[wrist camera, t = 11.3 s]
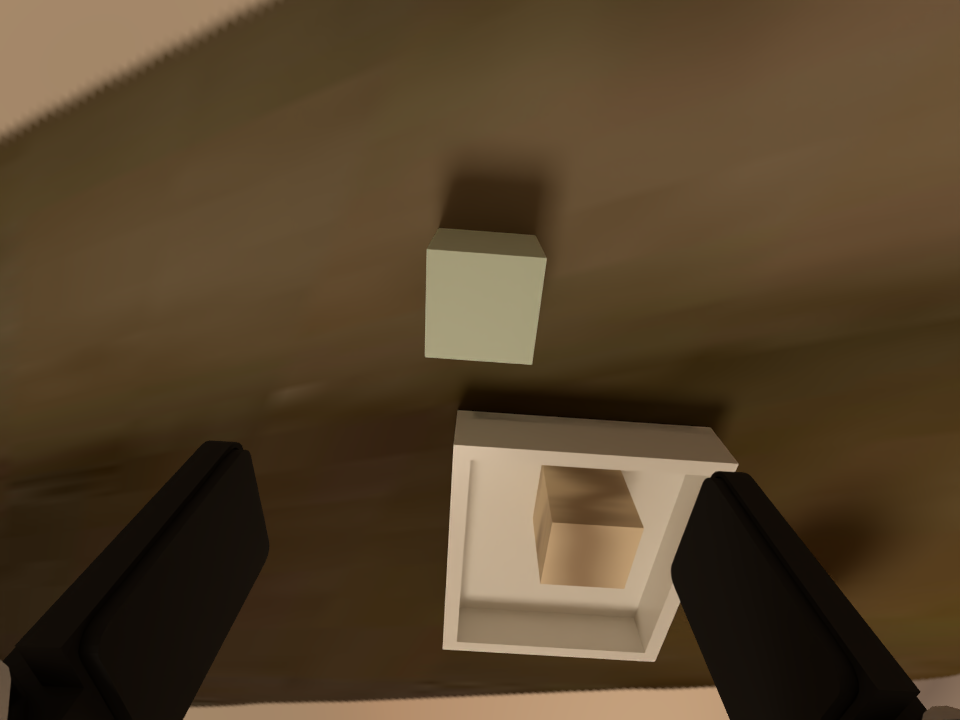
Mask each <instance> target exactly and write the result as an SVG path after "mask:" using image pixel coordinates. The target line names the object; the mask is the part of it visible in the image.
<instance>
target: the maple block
mask: <svg viewBox="0 0 960 720" xmlns="http://www.w3.org/2000/svg"><path fill="white" fill-rule="evenodd" d="M533 526H534V535H535V543H536V552H537V560H538V569H539V577H540V584H551V585H567V586H583V587H600V588H616V589H624V588H625V585H626V582H627V579H628V576H629V573H630V570H631V567H632V564H633V561H634V558H635V555H636V551H637V548H638V545H639V542H640V539H641V536H642V533H643V530H644V527H643V524H642V522H641V519H640V517H639V514H638V512H637V509H636V507H635V504H634V502H633V499H632V497H631V494H630V492H629V489H628V487H627V484H626V482H625V479H624V477H623V474H622V472H621V470H610V469H595V468H580V467H565V466H550V465H542V466H541V472H540V478H539V484H538V490H537V496H536V502H535V508H534V514H533Z"/></svg>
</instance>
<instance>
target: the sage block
mask: <svg viewBox="0 0 960 720" xmlns="http://www.w3.org/2000/svg"><path fill="white" fill-rule="evenodd" d="M546 260H547V258H546V256H545V253H544V251H543V249H542V247H541V245H540V243H539V241H538V239H537V237H536V235H527V234H514V233H501V232H488V231H474V230H461V229H448V228H438V230H437V232H436V233H435V235H434V237H433V239H432V241H431V242H430V244H429V246H428V248H427V262H426V321H425V357H431V358H445V359H459V360H473V361H487V362H501V363H515V364H529V365H532V360H533V353H534V346H535V339H536V332H537V325H538V318H539V310H540V303H541V296H542V289H543V282H544V275H545V268H546Z"/></svg>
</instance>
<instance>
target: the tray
mask: <svg viewBox="0 0 960 720" xmlns="http://www.w3.org/2000/svg"><path fill="white" fill-rule="evenodd" d="M542 465H550V466H565V467H580V468H595V469H610V470H621V472H622V474H623V477H624V479H625V482H626V484H627V487H628V489H629V492H630V494H631V497H632V499H633V502H634V504H635V507H636V509H637V512H638V514H639V517H640V519H641V522H642V524H643V527H644V530H643V533H642V536H641V539H640V542H639V545H638V548H637V551H636V555H635V558H634V561H633V564H632V567H631V570H630V573H629V576H628V579H627V582H626V585H625V588H624V589H616V588H600V587H583V586H567V585H551V584H540V577H539V569H538V560H537V552H536V543H535V535H534V526H533V514H534V508H535V502H536V496H537V490H538V484H539V478H540V472H541V466H542ZM737 467H738V462H737V461H736V460H735V458H734V457H733V456H732V455H731V453H730V452H729V451H728V449H727V448H726V447H725V446H724V444H723V443H722V442H721V440H720V439H719V438H718V436H717V435H716V434H715V433H714V431H713V430H712V429H711V427H698V426H683V425H668V424H654V423H639V422H624V421H610V420H595V419H580V418H566V417H551V416H536V415H522V414H507V413H492V412H478V411H463V410H458V411H457V420H456V429H455V438H454V449H453V467H452V486H451V504H450V523H449V542H448V560H447V579H446V598H445V616H444V635H443V649H447V650H464V651H481V652H498V653H515V654H531V655H548V656H565V657H582V658H599V659H616V660H633V661H650V662H655V660H656V658H657V655H658V653H659V650H660V648H661V646H662V643H663V641H664V639H665V636H666V634H667V632H668V629H669V627H670V625H671V622H672V620H673V617H674V615H675V613H676V610H677V608H678V606H679V603H680V600H679V597H678V595H677V592H676V590H675V588H674V585H673V582H672V578H671V565H672V562H673V560H674V557H675V554H676V552H677V549H678V546H679V544H680V541H681V538H682V536H683V533H684V531H685V528H686V525H687V523H688V520H689V517H690V515H691V512H692V510H693V507H694V504H695V502H696V499H697V496H698V494H699V491H700V488H701V486H702V483H703V481H704V480H705V479H706V478H710V477H711V476H712V474H713V473H714V472H716V471H726V472H735V471H736V469H737Z"/></svg>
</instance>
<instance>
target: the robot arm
mask: <svg viewBox="0 0 960 720" xmlns="http://www.w3.org/2000/svg"><path fill="white" fill-rule="evenodd" d="M268 552H269V539H268V535H267V530H266V525H265V521H264V516H263V511H262V506H261V502H260V497H259V492H258V487H257V483H256V478H255V473H254V469H253V464H252V459H251V455H250V452H249V451H247V450H243V448H242V445H241V444H240V443H237V442H225V441H207V442H205V443H204V444H202V445H201V446H200V447H199V448H198V449H197V451H196V452H195V453H194V454H193V455H192V456H191V457H190V458H189V459H188V460H187V461H186V462H185V463H184V465H183V466H182V467H181V468H180V469H179V470H178V471H177V472H176V473H175V474H174V475H173V476H172V477H171V478H170V480H169V481H168V482H167V483H166V484H165V485H164V486H163V487H162V488H161V489H160V490H159V491H158V492H157V494H156V495H155V496H154V497H153V498H152V499H151V500H150V501H149V502H148V503H147V504H146V505H145V506H144V507H143V509H142V510H141V511H140V512H139V513H138V514H137V515H136V516H135V517H134V518H133V519H132V520H131V521H130V523H129V524H128V525H127V526H126V527H125V528H124V529H123V530H122V531H121V532H120V533H119V534H118V535H117V537H116V538H115V539H114V540H113V541H112V542H111V543H110V544H109V545H108V546H107V547H106V548H105V549H104V550H103V552H102V553H101V554H100V555H99V556H98V557H97V558H96V559H95V560H94V561H93V562H92V563H91V564H90V566H89V567H88V568H87V569H86V570H85V571H84V572H83V573H82V574H81V575H80V576H79V577H78V578H77V580H76V581H75V582H74V583H73V584H72V585H71V586H70V587H69V588H68V589H67V590H66V591H65V592H64V593H63V595H62V596H61V597H60V598H59V599H58V600H57V601H56V602H55V603H54V604H53V605H52V606H51V607H50V609H49V610H48V611H47V612H46V613H45V614H44V615H43V616H42V617H41V618H40V619H39V620H38V621H37V623H36V624H35V625H34V626H33V627H32V628H31V629H30V630H29V631H28V632H27V633H26V634H25V635H24V636H23V638H22V639H21V640H20V641H19V642H18V643H17V644H16V645H15V646H16V647H15V649H14V650H13V651H12V652H11V653H10V654H9V655H8V656H7V657H6V658H5V659H4V660H3V661H1V660H0V720H183V718H184V716H185V714H186V712H187V711H188V709H189V707H190V705H191V703H192V701H193V699H194V697H195V695H196V693H197V692H198V690H199V688H200V686H201V684H202V682H203V680H204V678H205V676H206V674H207V672H208V670H209V669H210V667H211V665H212V663H213V661H214V659H215V657H216V655H217V653H218V651H219V649H220V648H221V646H222V644H223V642H224V640H225V638H226V636H227V634H228V632H229V630H230V628H231V626H232V625H233V623H234V621H235V619H236V617H237V615H238V613H239V611H240V609H241V607H242V605H243V604H244V602H245V600H246V598H247V596H248V594H249V592H250V590H251V588H252V586H253V584H254V582H255V581H256V579H257V577H258V575H259V573H260V571H261V569H262V567H263V565H264V563H265V561H266V559H267V556H268ZM671 578H672V582H673V585H674V588H675V590H676V592H677V595H678V597H679V600H680V602H681V604H682V607H683V609H684V612H685V614H686V616H687V619H688V621H689V623H690V626H691V628H692V631H693V633H694V635H695V638H696V640H697V642H698V645H699V647H700V650H701V652H702V654H703V657H704V659H705V662H706V664H707V666H708V669H709V671H710V673H711V676H712V678H713V681H714V683H715V685H716V688H717V690H718V692H719V695H720V697H721V699H722V702H723V704H724V707H725V709H726V711H727V714H728V716H729V719H730V720H960V709H957V708H953V707H949V706H935V707H931V708H930V709H928V710H926V708H925V707H924V706H923V704H922V703H921V702H920V700H919V699H918V698H917V697H916V696H917V695H918V694H919V693H920V691H919V689H918V688H917V687H916V686H915V684H914V683H913V682H912V680H911V679H910V678H909V677H908V675H907V674H906V673H905V672H904V670H903V669H902V668H901V666H900V665H899V664H898V663H897V661H896V660H895V659H894V658H893V656H892V655H891V654H890V652H889V651H888V650H887V649H886V647H885V646H884V645H883V644H882V642H881V641H880V640H879V638H878V637H877V636H876V635H875V633H874V632H873V631H872V630H871V628H870V627H869V626H868V624H867V623H866V622H865V621H864V619H863V618H862V617H861V616H860V614H859V613H858V612H857V610H856V609H855V608H854V607H853V605H852V604H851V603H850V602H849V600H848V599H847V598H846V596H845V595H844V594H843V593H842V591H841V590H840V589H839V588H838V586H837V585H836V584H835V582H834V581H833V580H832V579H831V577H830V576H829V575H828V574H827V572H826V571H825V570H824V568H823V567H822V566H821V565H820V563H819V562H818V561H817V560H816V558H815V557H814V556H813V554H812V553H811V552H810V551H809V549H808V548H807V547H806V546H805V544H804V543H803V542H802V540H801V539H800V538H799V537H798V535H797V534H796V533H795V532H794V530H793V529H792V528H791V526H790V525H789V524H788V523H787V521H786V520H785V519H784V518H783V516H782V515H781V514H780V512H779V511H778V510H777V509H776V507H775V506H774V505H773V504H772V502H771V501H770V500H769V498H768V497H767V496H766V495H765V493H764V492H763V491H762V490H761V488H760V487H759V486H758V484H757V483H756V482H755V481H754V479H753V478H752V477H751V476H750V475H749V474H747V473H743V472H726V471H716V472H714V473H713V474H712V476H711V477H710V478H706V479H705V480H704V481H703V483H702V486H701V488H700V491H699V494H698V496H697V499H696V502H695V504H694V507H693V510H692V512H691V515H690V517H689V520H688V523H687V525H686V528H685V531H684V533H683V536H682V538H681V541H680V544H679V546H678V549H677V552H676V554H675V557H674V560H673V562H672V565H671Z"/></svg>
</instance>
